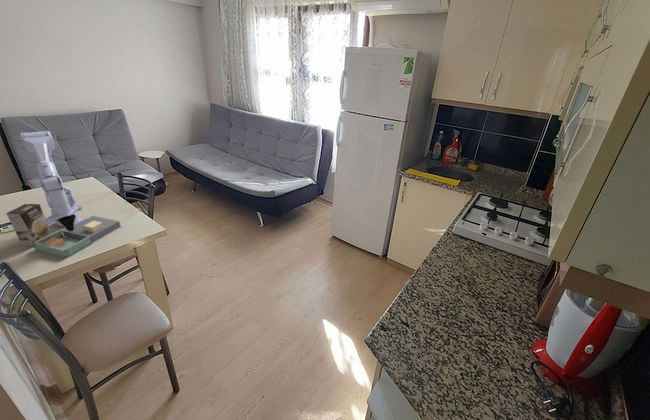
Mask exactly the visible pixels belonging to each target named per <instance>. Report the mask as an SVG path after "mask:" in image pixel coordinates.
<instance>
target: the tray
mask: <svg viewBox="0 0 650 420" xmlns="http://www.w3.org/2000/svg"><path fill="white" fill-rule="evenodd" d="M52 238H58V239H62V240H63V241H64V243H65V245H63V246H61V247H56V246H52V245H48V244H44V242H46V241H48V240H50V239H52ZM92 244H93V243H92V242H91V240H90V237H86V238H84V239H82V240H78V239H74V238H70V237H65V236H64V235H63V232H62V230H61V229H59V230H56V231H54V232H52V234H50V235H48V236H46V237H44V238H42V239H40V240H38V241H36V242H33V245H34V246H33V248H34V249H35V251H39V252H42V253H47V254H51V255H55V256H57V257H58V256H60V257H63V258H67V259H68V258H69V257H72V256H73V255H74V254H76V253H79V252H80V251H81V250H83V249H85V248H87V247H88V246H90V245H92Z"/></svg>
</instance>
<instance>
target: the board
mask: <svg viewBox="0 0 650 420" xmlns="http://www.w3.org/2000/svg"><path fill="white" fill-rule="evenodd" d="M92 221H97V222H102V224H103V228H101V229H99V230H97V231H95V232H90V231H85V229H84V227H83V226H84V225H86V224H88V223H90V222H92ZM120 223H121V222H120V221H119V220H115V219H109V218H104V217H100V216H95V215H91V216H90V217H87V218H85V219H84V220H83V221H81V222H79V223H77V224H75V225H74V230H73V231H68V230H67V229H66V228H65V229H62V230H61V231H62V234H63V236H66V237H70V238H74V239H78V240H82V239H84V238H86V237H90V240H91V242H92V244H93V243H94V242H96V241H98V240H99V239H101V238H103V237H105V236H107V235H108V234H110V233H112V232H113V231H116V230H117V229H119V228H121V224H120Z"/></svg>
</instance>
